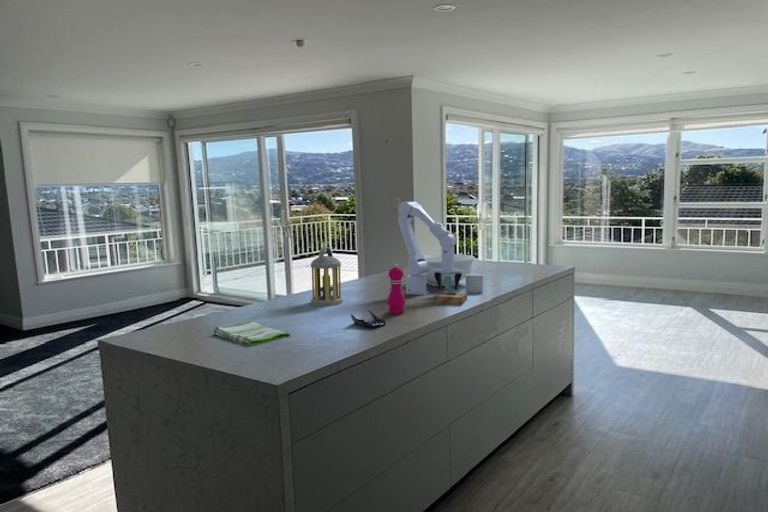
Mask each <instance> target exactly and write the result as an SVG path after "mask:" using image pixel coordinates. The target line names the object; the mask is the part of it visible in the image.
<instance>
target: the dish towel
mask: <svg viewBox="0 0 768 512" xmlns="http://www.w3.org/2000/svg"><path fill="white" fill-rule="evenodd" d="M213 334H214V336H218V337H221V338H224V339H226V340H229V341H232V342H235V343H238V344H242V345H244V346H246V347H247V346H248V347H252V346H256V345H260V344H261V345H262V344H264V343H268V342H273V341H276V340H279V339H284V338H288V337H290V336H291V334H290V333H289V332H285V331H282V330H279V329H275V328H271V327H268V326H265V325H262V324H259V323H257V322H255V321H253V320H246V321H243V322H241V321H239V322H237V323H231V324H230V323H229V324H225V325H216V326H215V328H214V330H213Z"/></svg>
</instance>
